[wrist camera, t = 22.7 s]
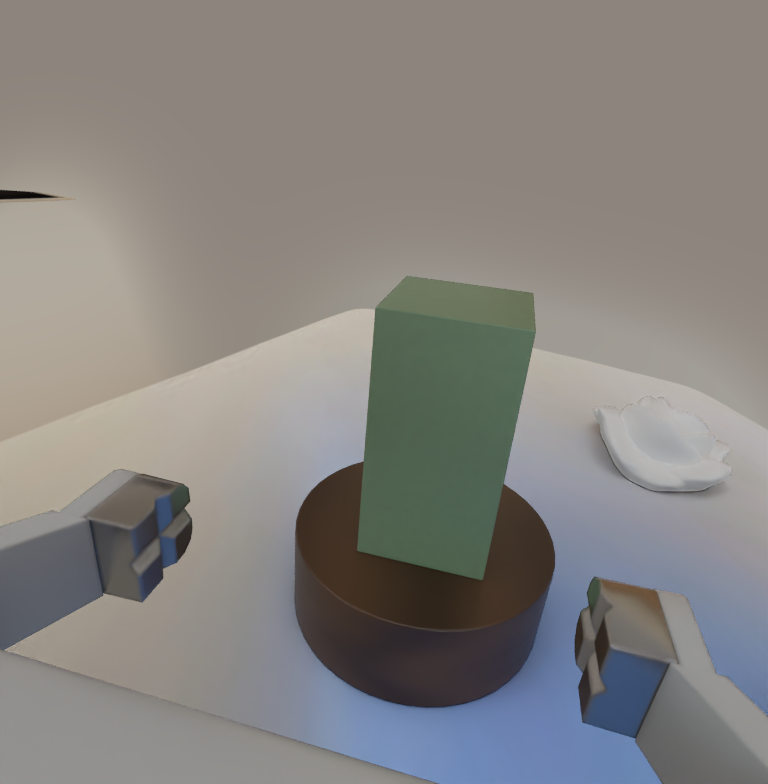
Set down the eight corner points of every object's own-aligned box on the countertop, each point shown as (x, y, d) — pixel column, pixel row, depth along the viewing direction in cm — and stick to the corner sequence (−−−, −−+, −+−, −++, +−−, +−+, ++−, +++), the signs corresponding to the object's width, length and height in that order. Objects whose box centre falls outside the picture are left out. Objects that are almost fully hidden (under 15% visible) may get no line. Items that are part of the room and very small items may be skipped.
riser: (251, 663, 21) (248, 586, 19) (338, 500, 30) (341, 440, 29) (539, 745, 19) (564, 667, 17) (533, 542, 28) (549, 481, 27)
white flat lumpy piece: (564, 384, 37) (644, 364, 42) (551, 438, 39) (628, 413, 44) (706, 452, 30) (781, 418, 35) (681, 515, 32) (756, 474, 37)
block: (356, 551, 21) (375, 306, 17) (385, 482, 25) (406, 275, 21) (482, 581, 20) (536, 330, 16) (490, 504, 25) (533, 292, 20)
